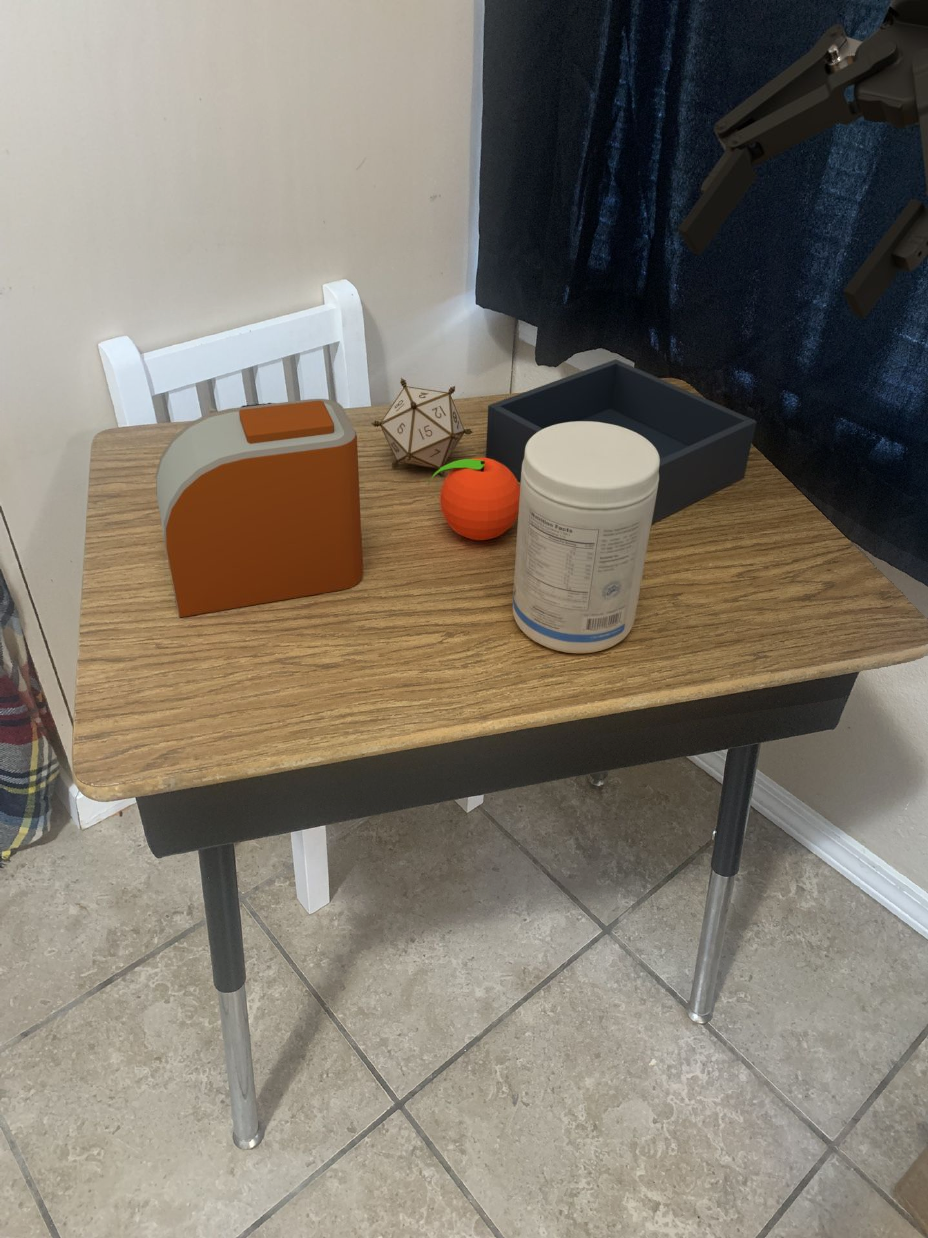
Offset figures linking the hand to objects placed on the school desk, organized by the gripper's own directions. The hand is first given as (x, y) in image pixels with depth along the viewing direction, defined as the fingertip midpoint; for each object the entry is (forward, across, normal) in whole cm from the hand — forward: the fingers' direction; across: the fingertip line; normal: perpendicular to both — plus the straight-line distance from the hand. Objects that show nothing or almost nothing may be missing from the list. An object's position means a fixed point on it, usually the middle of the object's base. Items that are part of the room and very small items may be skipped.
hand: (765, 272), depth 64 cm
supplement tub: (+26, +2, -10) cm, 28 cm away
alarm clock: (+38, +21, +2) cm, 43 cm away
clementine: (+26, +16, -11) cm, 32 cm away
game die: (+24, +29, -13) cm, 39 cm away
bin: (+13, +18, -24) cm, 32 cm away
